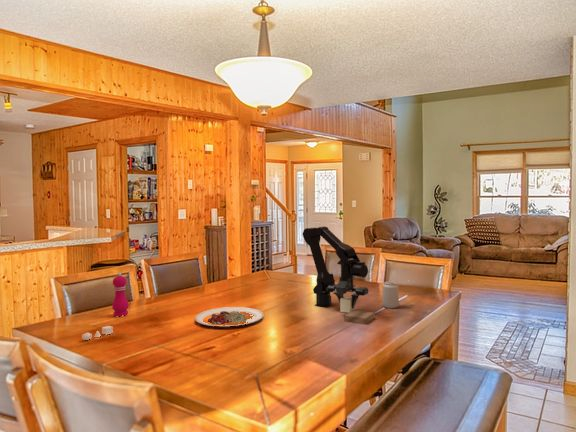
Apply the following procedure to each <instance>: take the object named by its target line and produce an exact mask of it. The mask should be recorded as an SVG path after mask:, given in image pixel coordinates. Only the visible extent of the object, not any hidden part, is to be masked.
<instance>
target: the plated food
mask: <svg viewBox="0 0 576 432" xmlns="http://www.w3.org/2000/svg"><path fill="white" fill-rule="evenodd" d="M233 311H234V312H233ZM228 312H229V313H228ZM240 312H246V313H249V314H252V315H250V316H253V315H254V316H253V317H252V319H251V318H250V319H247V318H246V317H245V316H248V315H244V314H241V313H240ZM215 313H220V314H217V315H216V314H215ZM209 315H211V318H209V319H208V321H207V322H210V323H212V324H215V323H216V324H219V323H221V324H225V323H231V322H232V323H236V322H238V323H240V322H243V321H246V323H244V324H238V325H225V326H223V325H212V324H208V323H205V322H203V319H204V318H205V317H207V316H209ZM263 318H264V313H263V312H262V311H261V310H259V309H257V308H252V307H245V306H244V307H242V306H233V307H232V306H227V307H217V308H211V309H208V310H204V311H202V312H199V313H198V314H196V315H195V317H194V319H195V322H197V323H198V324H200V325H203V326H209V327H214V326H219V327H218V328H231V327H230V326H236V327H240V326H239V325H242V326H246V325H249V324H253V323H256V322H258V321H261V319H263ZM246 319H247V320H246ZM247 322H248V323H247ZM245 324H246V325H245Z"/></svg>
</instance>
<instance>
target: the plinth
mask: <svg viewBox="0 0 576 432" xmlns="http://www.w3.org/2000/svg"><path fill="white" fill-rule="evenodd" d="M374 320H375V312H372V311H364V310H356V309H355V310H352V311H351V312H349V313H346V314H344V315H343V321H344V322H348V323H352V324H360V325H367V324H369V323H371V322H372V321H374Z"/></svg>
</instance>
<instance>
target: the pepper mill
mask: <svg viewBox="0 0 576 432" xmlns="http://www.w3.org/2000/svg"><path fill="white" fill-rule="evenodd" d="M112 285H113V286H114V287H113V288H114V289H113V290H114V292H115V293H114V294H115V296H114V299H113V302H112V305H111V307H112V310H113V317H114V316H122V315H127V314H128V315H129V310H128V309H129V307H130V306H129V305H130V303H129V301H128V298H127V296H126V293H125V291H126V290H127V289H126V287H127V286H126V285H127V278H126V277H125V276H122V273H121V272H118V273H117V276H115V277H114V278H113V279H112ZM128 315H127V316H128Z"/></svg>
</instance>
